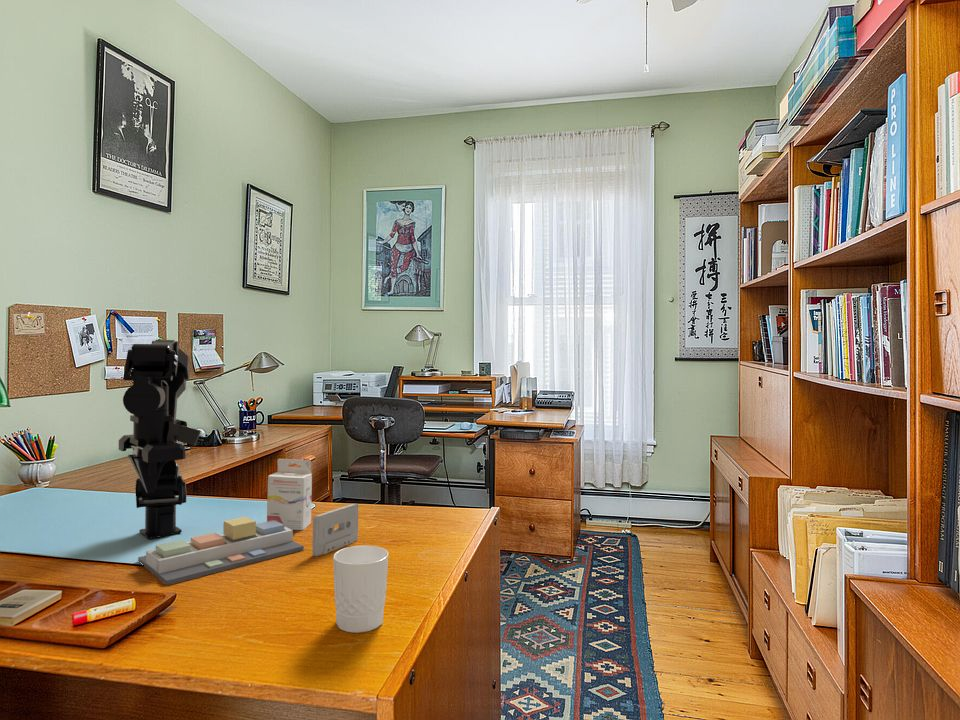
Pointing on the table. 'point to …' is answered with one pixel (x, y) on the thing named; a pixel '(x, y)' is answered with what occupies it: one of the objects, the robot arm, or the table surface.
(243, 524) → the key ochre
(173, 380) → the robot arm
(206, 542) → the key terracotta
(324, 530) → the cassette
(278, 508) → the ink cartridge box
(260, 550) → the keypad base
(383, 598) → the white cup
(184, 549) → the key sage
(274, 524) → the key slate
